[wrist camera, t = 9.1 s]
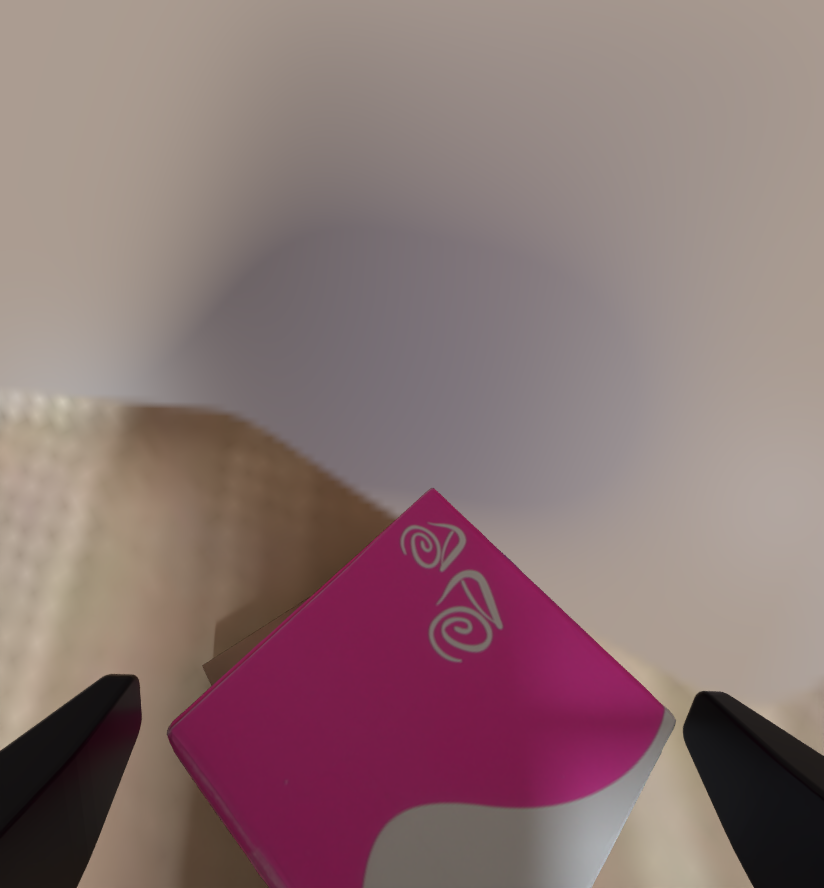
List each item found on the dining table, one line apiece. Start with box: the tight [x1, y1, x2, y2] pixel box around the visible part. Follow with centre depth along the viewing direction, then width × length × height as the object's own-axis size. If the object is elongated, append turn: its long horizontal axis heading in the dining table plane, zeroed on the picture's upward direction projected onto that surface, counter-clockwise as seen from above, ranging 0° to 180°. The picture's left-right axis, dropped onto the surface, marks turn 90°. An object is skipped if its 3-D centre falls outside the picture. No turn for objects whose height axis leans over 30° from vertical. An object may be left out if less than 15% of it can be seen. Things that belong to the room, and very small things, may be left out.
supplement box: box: [167, 488, 676, 888], centre depth 12 cm, size 6×6×12 cm
